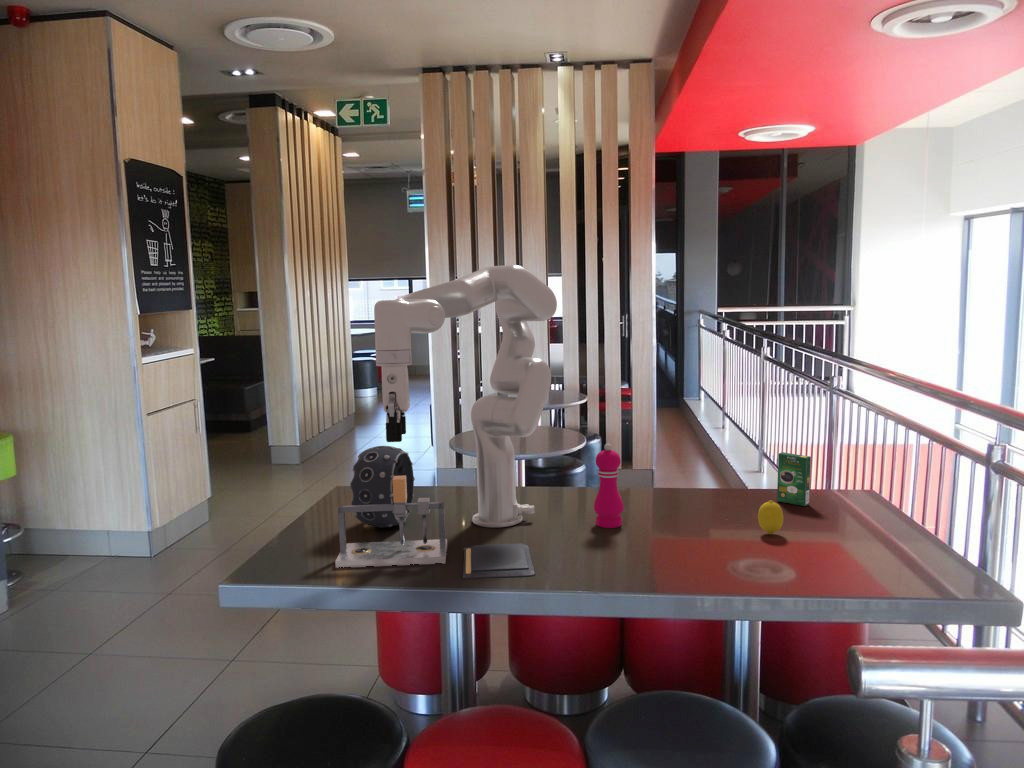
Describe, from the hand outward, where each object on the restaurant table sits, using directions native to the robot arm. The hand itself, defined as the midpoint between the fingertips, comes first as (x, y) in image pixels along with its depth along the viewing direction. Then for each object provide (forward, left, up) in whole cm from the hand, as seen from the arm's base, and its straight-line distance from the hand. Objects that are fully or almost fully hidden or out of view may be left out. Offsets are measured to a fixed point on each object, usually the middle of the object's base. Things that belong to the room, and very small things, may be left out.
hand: (396, 437), depth 164 cm
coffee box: (-100, -29, -27) cm, 107 cm away
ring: (+6, -24, -27) cm, 36 cm away
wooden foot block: (0, 0, -24) cm, 24 cm away
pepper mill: (-49, -17, -27) cm, 58 cm away
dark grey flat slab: (-21, +6, -27) cm, 35 cm away
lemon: (-84, -4, -27) cm, 88 cm away
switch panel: (+2, 0, -26) cm, 26 cm away
